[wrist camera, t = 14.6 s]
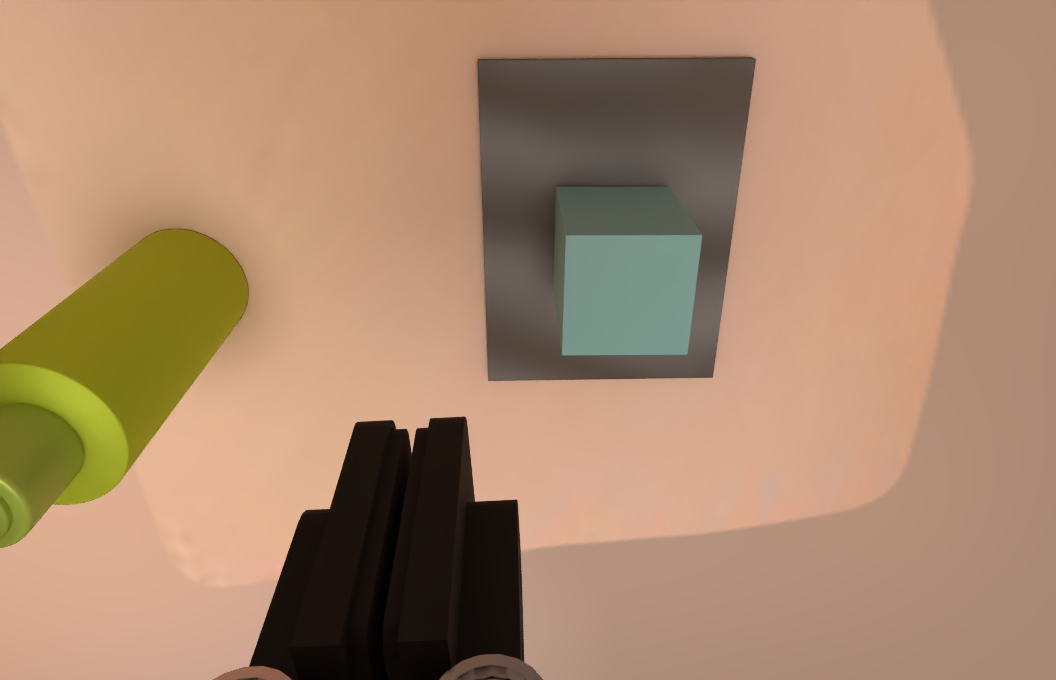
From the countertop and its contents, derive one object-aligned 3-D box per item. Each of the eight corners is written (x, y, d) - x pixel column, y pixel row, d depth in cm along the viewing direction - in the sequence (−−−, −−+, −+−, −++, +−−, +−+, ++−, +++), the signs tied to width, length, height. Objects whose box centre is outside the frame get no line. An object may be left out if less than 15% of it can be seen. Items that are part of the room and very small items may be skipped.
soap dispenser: (200, 192, 34) (-135, 447, 16) (269, 317, 37) (52, 645, 19) (90, 230, 35) (-342, 514, 17) (168, 350, 38) (-130, 694, 20)
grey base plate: (478, 59, 32) (470, 84, 25) (751, 57, 32) (810, 81, 26) (488, 375, 39) (485, 453, 33) (709, 371, 39) (747, 449, 33)
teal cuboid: (555, 186, 33) (565, 235, 27) (668, 186, 33) (702, 235, 28) (553, 290, 36) (562, 355, 30) (658, 289, 36) (687, 354, 30)
